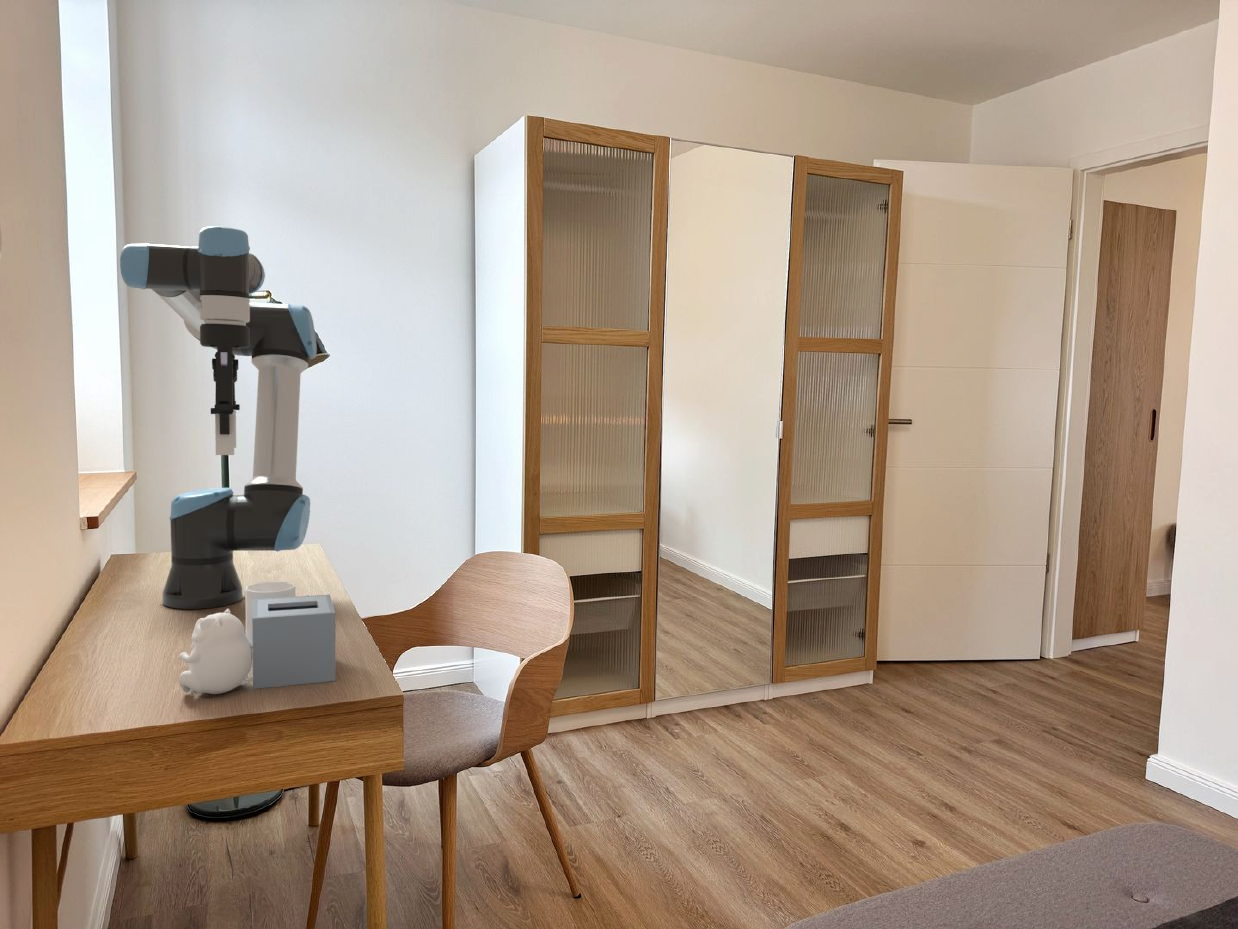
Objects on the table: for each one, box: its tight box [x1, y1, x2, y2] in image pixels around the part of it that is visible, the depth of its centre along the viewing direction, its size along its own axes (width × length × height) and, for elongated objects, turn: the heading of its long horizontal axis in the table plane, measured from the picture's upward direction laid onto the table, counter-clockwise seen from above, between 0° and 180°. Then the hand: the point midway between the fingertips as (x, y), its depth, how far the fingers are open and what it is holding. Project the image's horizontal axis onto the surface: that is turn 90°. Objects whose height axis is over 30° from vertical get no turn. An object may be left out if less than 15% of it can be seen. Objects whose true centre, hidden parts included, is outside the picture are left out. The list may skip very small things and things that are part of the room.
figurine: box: [177, 608, 253, 695], centre depth 131 cm, size 10×10×12 cm
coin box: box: [252, 594, 336, 690], centre depth 140 cm, size 12×12×11 cm
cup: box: [244, 580, 296, 648], centre depth 157 cm, size 8×12×10 cm
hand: (226, 451), depth 146 cm, fingers open, 13 cm apart
